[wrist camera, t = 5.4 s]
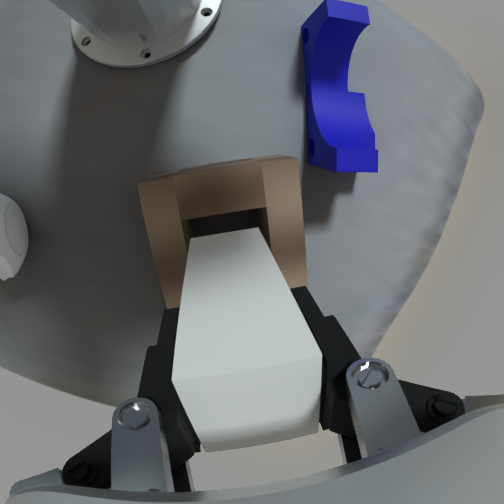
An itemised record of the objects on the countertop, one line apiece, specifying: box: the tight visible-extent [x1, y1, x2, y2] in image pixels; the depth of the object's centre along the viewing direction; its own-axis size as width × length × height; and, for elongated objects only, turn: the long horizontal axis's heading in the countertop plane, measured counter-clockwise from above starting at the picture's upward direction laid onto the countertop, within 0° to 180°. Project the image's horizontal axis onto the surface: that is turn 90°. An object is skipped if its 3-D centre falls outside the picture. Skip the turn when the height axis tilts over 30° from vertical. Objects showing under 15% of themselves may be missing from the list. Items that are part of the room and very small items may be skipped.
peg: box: [172, 227, 322, 452], centre depth 12 cm, size 4×4×10 cm
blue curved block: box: [302, 0, 378, 172], centre depth 18 cm, size 12×4×6 cm, turn 2°
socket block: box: [137, 155, 308, 309], centre depth 24 cm, size 22×10×5 cm, turn 7°
